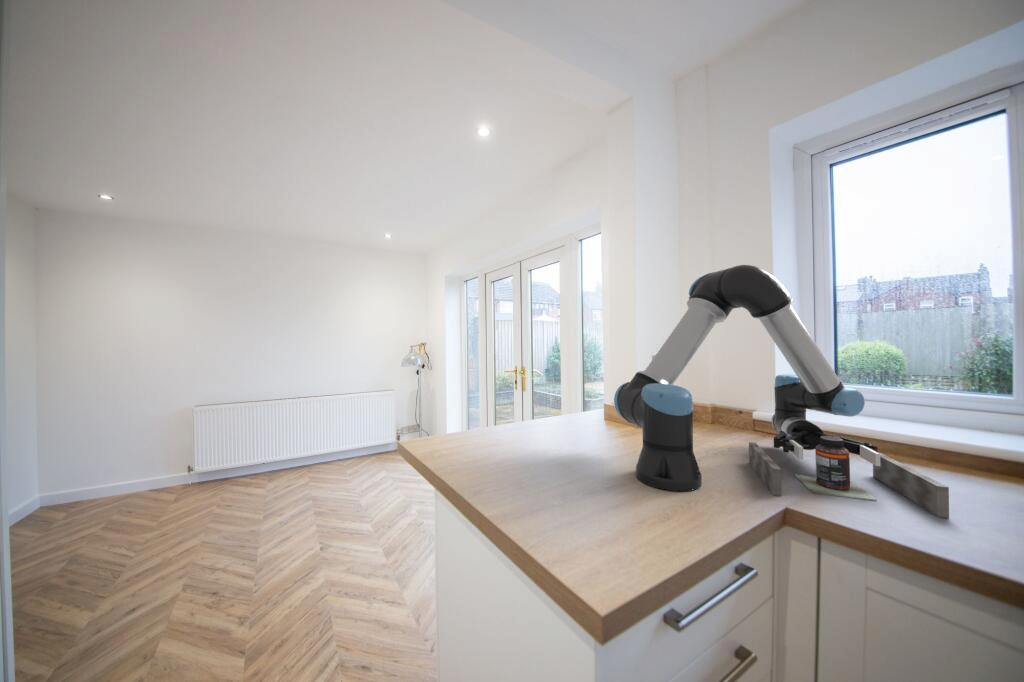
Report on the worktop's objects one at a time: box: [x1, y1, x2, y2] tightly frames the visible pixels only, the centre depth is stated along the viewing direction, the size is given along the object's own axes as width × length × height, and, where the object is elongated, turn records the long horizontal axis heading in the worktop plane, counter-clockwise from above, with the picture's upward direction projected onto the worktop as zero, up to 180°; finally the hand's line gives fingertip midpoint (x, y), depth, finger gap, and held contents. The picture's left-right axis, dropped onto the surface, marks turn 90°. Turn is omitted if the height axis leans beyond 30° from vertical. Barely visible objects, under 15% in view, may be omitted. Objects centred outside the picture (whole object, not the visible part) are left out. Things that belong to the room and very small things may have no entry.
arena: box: [748, 441, 950, 519], centre depth 83 cm, size 22×28×6 cm
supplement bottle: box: [814, 435, 851, 490], centre depth 82 cm, size 6×6×11 cm
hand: (838, 456), depth 79 cm, fingers open, 13 cm apart
